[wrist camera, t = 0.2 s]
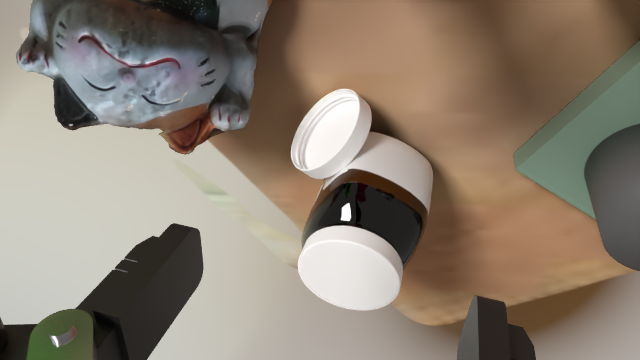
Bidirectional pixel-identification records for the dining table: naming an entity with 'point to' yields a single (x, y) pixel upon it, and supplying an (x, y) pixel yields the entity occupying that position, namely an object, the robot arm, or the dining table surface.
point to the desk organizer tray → (596, 156)
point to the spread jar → (358, 204)
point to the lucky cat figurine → (148, 63)
